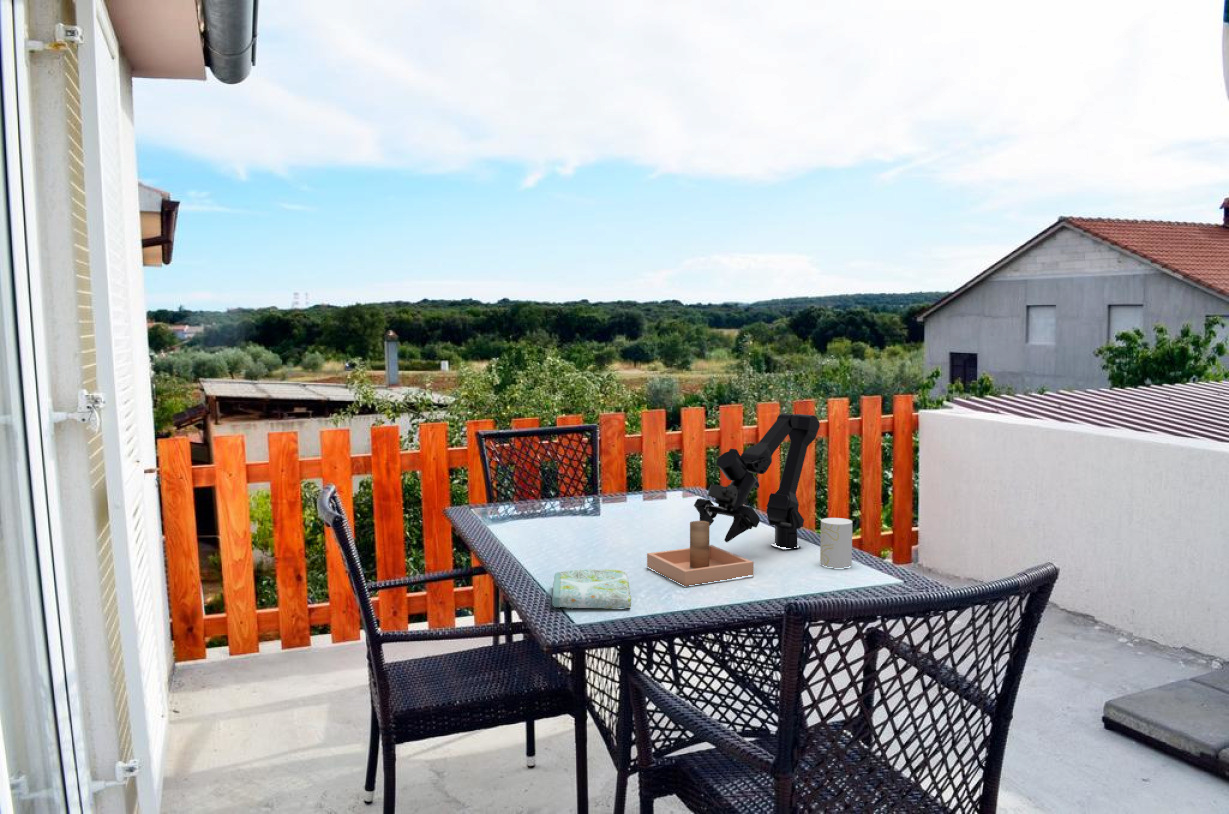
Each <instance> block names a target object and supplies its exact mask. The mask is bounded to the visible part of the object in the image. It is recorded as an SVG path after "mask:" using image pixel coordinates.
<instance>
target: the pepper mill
mask: <svg viewBox="0 0 1229 814" xmlns="http://www.w3.org/2000/svg"><path fill="white" fill-rule="evenodd" d="M709 545H710V526H709V522H706V521H700V520H693V521H690V523H689V548H690V569H696V568H703V567H710V566H709Z"/></svg>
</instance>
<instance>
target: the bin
mask: <svg viewBox="0 0 1229 814" xmlns="http://www.w3.org/2000/svg"><path fill="white" fill-rule="evenodd" d="M754 563H755V562H754V561H752V560H750V559H747V558H745V557H742V556H740V555H738V554H735V553H732V552H730V551H727V550H726V549H723V548H720V547H718V546H715V545H713V544H711V545H710V544H709V566H710V567H703V568H696V569H690V547H686V548H679V549H677V548H676V549H671V550H665V551H664V550H662V551H655V552H648V553H647V552H646V568H647V567H649V568H651V569H653V570H655V571H656V572H658V573H660V574H662V575H664V576H666V577H668V578H670V579H672V580H674V581H676V582H678V583H680V584H682V585H684V586H689V585H695V584H702V583H708V582H714V581H720V580H727V579H732V578H736V577H742V576H748V575H753V576H754V569H755V568H754Z"/></svg>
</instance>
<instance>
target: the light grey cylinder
mask: <svg viewBox="0 0 1229 814" xmlns="http://www.w3.org/2000/svg"><path fill="white" fill-rule="evenodd" d="M819 552H820V556H819V558H820V559H819V563H820V564H821V565H824V566H827V567H833V568H844V567H849V566H851V565H852V564H853V559H852V558H853V520H851V519H849V518H843V517H842V518H841V517H825V518H822V519H820V551H819ZM820 564H819V565H820Z"/></svg>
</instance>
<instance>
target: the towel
mask: <svg viewBox="0 0 1229 814" xmlns="http://www.w3.org/2000/svg"><path fill="white" fill-rule="evenodd" d="M552 583H553V584H552V585H553V586H552V601H551V603H552V607H553V606H554V607H553V608H560V607H567V608H566V609H570V608H571V609H573V608H630V607H631V608H632V596H631V590H630V589H631V588H630V582H629V575H628V573H626V571H623V570H620V569H609V568H608V569H607V568H606V569H595V568H594V569H593V568H585V569H583V568H582V569H573V570H563V571H560V572H555V573H554V576H553V582H552ZM631 608H630V609H631Z"/></svg>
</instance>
